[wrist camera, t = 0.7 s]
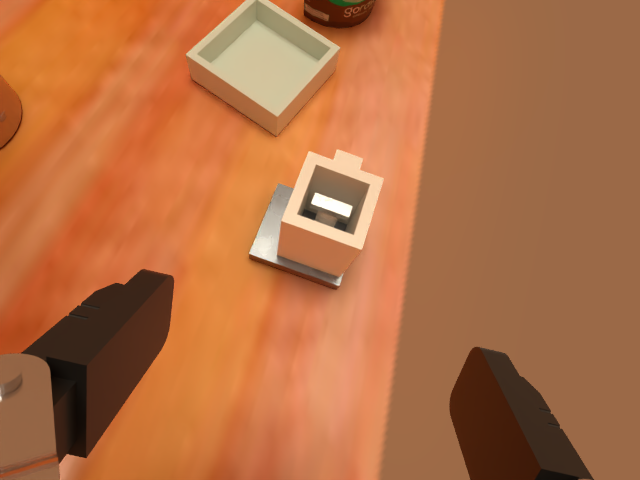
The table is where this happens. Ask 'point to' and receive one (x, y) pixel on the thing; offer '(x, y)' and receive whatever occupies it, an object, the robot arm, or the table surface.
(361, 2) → the food container
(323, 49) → the tray
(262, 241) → the stake stand
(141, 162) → the table surface
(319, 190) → the cream open box
